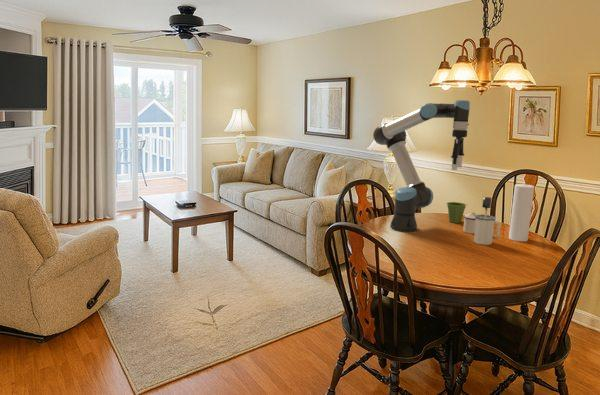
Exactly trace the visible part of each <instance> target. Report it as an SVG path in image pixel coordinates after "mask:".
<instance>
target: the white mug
mask: <svg viewBox="0 0 600 395" xmlns="http://www.w3.org/2000/svg"><path fill="white" fill-rule="evenodd" d="M484 216H485V214H477V215H476V216H475V218H476V223H475V233H474V234H473V236H474V237H473V243H476V244H478V245H484V246H486V245H487V246H488V245H492V244H493V238H494V237H495V238H499V237H500V230H501V221H496V216H493V215H490V214H487V217H486V218H484ZM495 224H496V225H497V231H496V234H494V229H495Z"/></svg>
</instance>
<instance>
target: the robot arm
mask: <svg viewBox="0 0 600 395" xmlns="http://www.w3.org/2000/svg"><path fill="white" fill-rule="evenodd" d="M470 103H471V102H470V100H467V99H465V100H464V99H463V100H462V99H461V100H459V99H457V100H455V102H454V103H432V102H427V103H425V104H423V105H422V106H421V107H420V108H418V109H416V110H414V111H412V112H410V113H408V114H406V115H404V116H401V117H400V118H398V119H396V120H394V121H391V122H389V123H386V122H385V123H383V124H380V125H378V126H377V127H376V128H374V131H373V134H372V137H373V140H374V141H375V143H376V144H378V145H381V146H386V148H387V149H388V151H390V152H392V153H391V154H392V155H393V158H394V160H395V162H396V164H397V166H398V169H399V171H400V174H401V176H402V178H403V181H404V184H405V186H406V187H400V188H397V189H396V190H395V194H394V208H393V211H394V214H393V216H392V219H391V222H390V227H391V228H392V230H393V229H394V231H397V230H398V231H397V232H404V231H406V232H407V233H408V232H409V233H410V232H415V231H417V229H418V225H417V220H416V209H418V210H419V209H421V208H422V209H423V208H426V207H428V206H430V205H432V202H433V199H434V193H433V191H432V189H431V188H429V187H428V186H426V183H425V182H424V181H421V179H420V177H419V174H418V173H417V170H416V167H415V165H414V163H413V160H412V158H411V156H410V154H409V152H408V149H407V147H406V145H407V141H406V140H407V132H406V131H407V130H408V129H411V128H414V127H417V125H420V124H423V123H425V122H428V121H430V120H432V119H439V118H443V119H444V118H449V119H451V118H452V119H453V121H452V134H451V135H452V137H453V138H455V139H454V140H453V141H454V142H453V148H452V154H451V156H450V159H451V158H452V159H451V160H452V162H451V171H458V168H462V165H463V157H464V156H465V153H464V138H467V137H468V129H469V128H468V127H469V126H470V123H469V116H470V110H471V108H470ZM391 228H390V229H391ZM406 232H405V233H406Z"/></svg>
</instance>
